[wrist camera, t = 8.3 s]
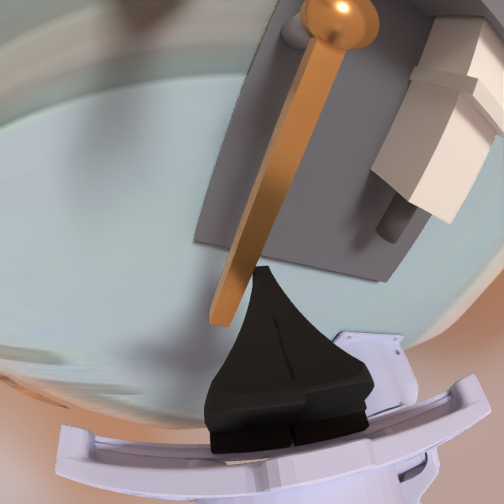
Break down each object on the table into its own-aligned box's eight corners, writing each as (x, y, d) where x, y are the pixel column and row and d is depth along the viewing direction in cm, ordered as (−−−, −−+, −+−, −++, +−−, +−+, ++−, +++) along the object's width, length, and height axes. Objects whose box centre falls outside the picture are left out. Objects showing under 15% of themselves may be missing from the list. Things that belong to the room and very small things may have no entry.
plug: (481, 33, 9) (537, 44, 5) (394, 227, 18) (433, 275, 14) (440, -8, 8) (499, -10, 3) (346, 209, 17) (384, 261, 13)
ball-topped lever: (241, 315, 15) (242, 331, 14) (195, 308, 14) (195, 325, 13) (371, 12, 6) (387, 8, 5) (312, -19, 6) (322, -27, 5)
